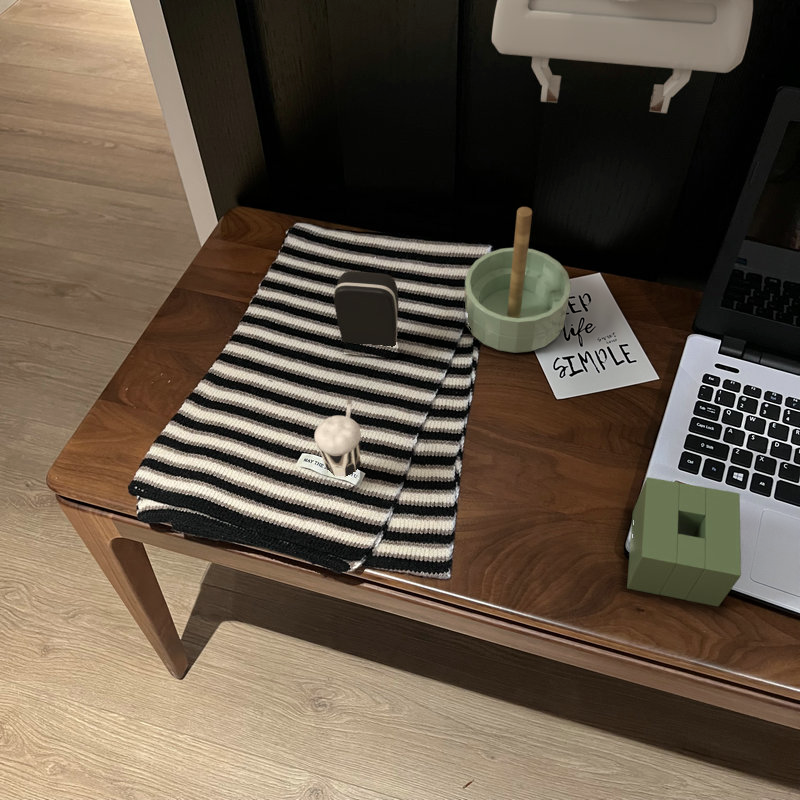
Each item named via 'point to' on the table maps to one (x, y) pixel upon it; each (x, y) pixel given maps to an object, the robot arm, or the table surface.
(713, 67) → the robot arm
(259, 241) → the table surface
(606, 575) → the table surface
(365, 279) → the battery charger
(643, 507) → the holder
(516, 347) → the bowl
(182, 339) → the table surface
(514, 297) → the stick
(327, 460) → the milkshake
